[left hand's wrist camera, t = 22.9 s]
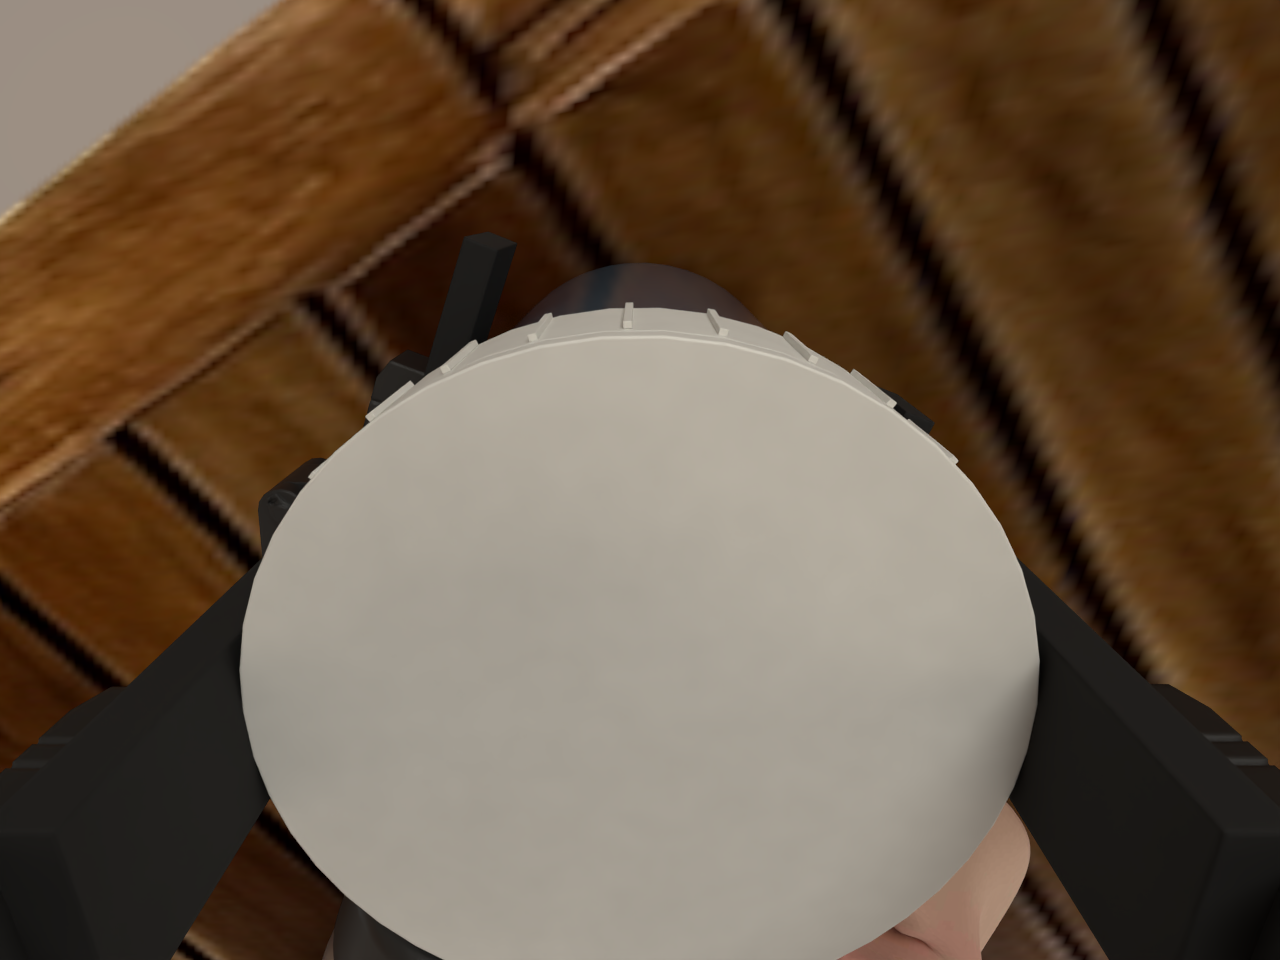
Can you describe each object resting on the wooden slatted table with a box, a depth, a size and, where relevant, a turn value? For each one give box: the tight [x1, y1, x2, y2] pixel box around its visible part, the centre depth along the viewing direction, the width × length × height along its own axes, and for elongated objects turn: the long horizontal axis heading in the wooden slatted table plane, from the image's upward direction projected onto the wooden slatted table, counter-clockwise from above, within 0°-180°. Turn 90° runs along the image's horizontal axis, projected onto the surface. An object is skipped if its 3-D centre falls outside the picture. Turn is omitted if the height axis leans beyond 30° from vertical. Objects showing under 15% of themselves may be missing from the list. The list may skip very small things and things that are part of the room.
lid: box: [240, 302, 1040, 960], centre depth 11 cm, size 11×11×2 cm
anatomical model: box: [837, 802, 1030, 960], centre depth 31 cm, size 13×4×12 cm
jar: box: [513, 263, 767, 330], centre depth 18 cm, size 10×10×16 cm
